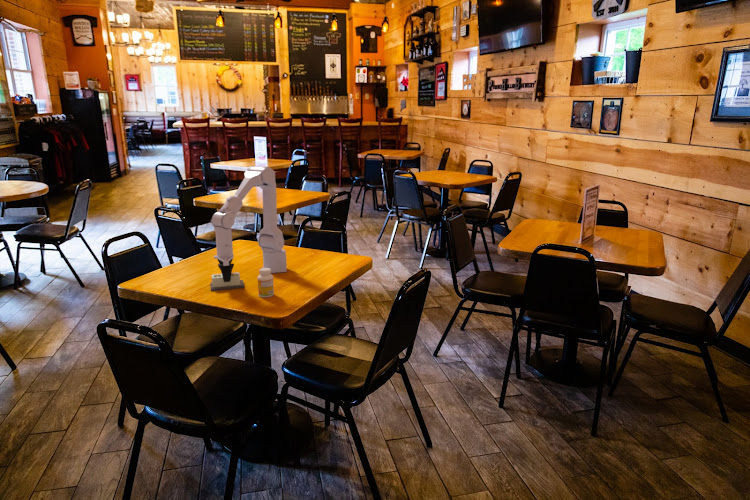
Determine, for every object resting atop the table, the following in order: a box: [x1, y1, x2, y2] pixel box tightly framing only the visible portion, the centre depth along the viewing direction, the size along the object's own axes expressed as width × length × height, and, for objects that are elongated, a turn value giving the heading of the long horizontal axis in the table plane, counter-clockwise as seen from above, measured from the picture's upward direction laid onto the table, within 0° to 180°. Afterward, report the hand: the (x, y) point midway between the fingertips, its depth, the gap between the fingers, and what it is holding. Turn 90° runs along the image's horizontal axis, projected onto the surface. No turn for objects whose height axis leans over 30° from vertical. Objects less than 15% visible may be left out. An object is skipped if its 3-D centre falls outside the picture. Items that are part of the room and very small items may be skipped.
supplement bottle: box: [257, 267, 275, 298], centre depth 181 cm, size 5×5×10 cm
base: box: [210, 274, 245, 292], centre depth 191 cm, size 12×7×4 cm, turn 108°
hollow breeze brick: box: [211, 272, 241, 287], centre depth 190 cm, size 10×5×4 cm, turn 108°
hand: (226, 279), depth 190 cm, fingers open, 6 cm apart
